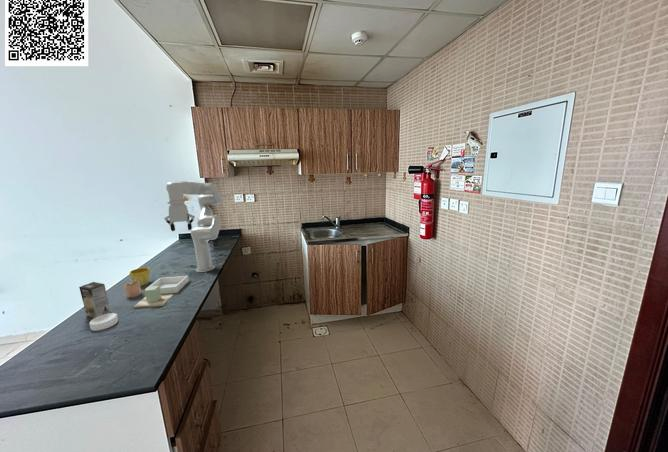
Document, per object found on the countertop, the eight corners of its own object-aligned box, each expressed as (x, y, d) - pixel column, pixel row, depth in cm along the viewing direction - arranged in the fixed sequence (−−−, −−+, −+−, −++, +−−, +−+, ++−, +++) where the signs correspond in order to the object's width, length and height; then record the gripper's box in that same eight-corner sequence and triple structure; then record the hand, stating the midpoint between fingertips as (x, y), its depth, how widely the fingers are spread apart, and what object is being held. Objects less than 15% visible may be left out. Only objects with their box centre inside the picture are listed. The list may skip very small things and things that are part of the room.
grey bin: (161, 284, 168) (159, 277, 167) (189, 282, 170) (188, 275, 169) (145, 296, 151) (144, 289, 151) (177, 294, 153) (175, 286, 152)
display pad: (146, 297, 150) (145, 296, 150) (174, 295, 152) (173, 293, 152) (133, 308, 138) (132, 306, 138) (163, 305, 140) (163, 304, 140)
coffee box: (85, 316, 132) (78, 286, 129) (100, 310, 138) (93, 281, 135) (97, 319, 129) (90, 288, 126) (112, 312, 135) (105, 283, 132)
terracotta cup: (131, 293, 156) (129, 281, 154) (144, 292, 157) (141, 280, 155) (124, 299, 149) (121, 286, 148) (137, 298, 150) (134, 285, 148)
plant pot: (156, 281, 174) (153, 267, 171) (143, 288, 163) (140, 273, 161) (141, 281, 175) (138, 267, 173) (128, 288, 165) (125, 273, 162)
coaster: (109, 329, 120) (108, 322, 120) (85, 332, 119) (83, 325, 118) (122, 317, 130) (121, 311, 129) (100, 320, 128) (98, 314, 128)
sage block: (152, 298, 147) (149, 286, 146) (161, 297, 148) (159, 285, 146) (146, 302, 142) (144, 290, 141) (156, 301, 143) (154, 289, 141)
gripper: (158, 204, 155) (163, 232, 159) (189, 202, 157) (194, 230, 161) (165, 203, 162) (169, 229, 166) (194, 201, 164) (198, 228, 168)
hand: (181, 230), depth 163 cm, fingers open, 9 cm apart
